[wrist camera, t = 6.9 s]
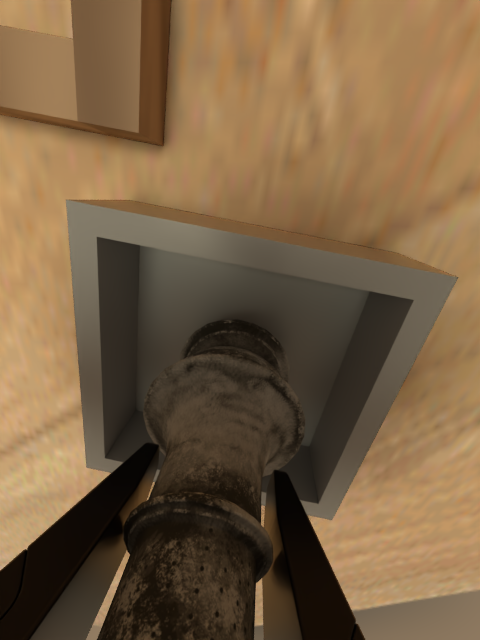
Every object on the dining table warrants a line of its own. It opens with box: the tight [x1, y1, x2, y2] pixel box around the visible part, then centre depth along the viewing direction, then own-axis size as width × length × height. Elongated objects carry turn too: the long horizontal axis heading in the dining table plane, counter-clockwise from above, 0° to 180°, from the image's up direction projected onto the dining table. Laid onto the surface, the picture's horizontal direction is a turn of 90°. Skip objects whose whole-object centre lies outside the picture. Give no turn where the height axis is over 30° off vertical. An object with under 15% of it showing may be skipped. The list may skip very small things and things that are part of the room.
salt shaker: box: [97, 319, 305, 640], centre depth 8 cm, size 6×6×12 cm
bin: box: [66, 200, 458, 520], centre depth 14 cm, size 13×13×4 cm
